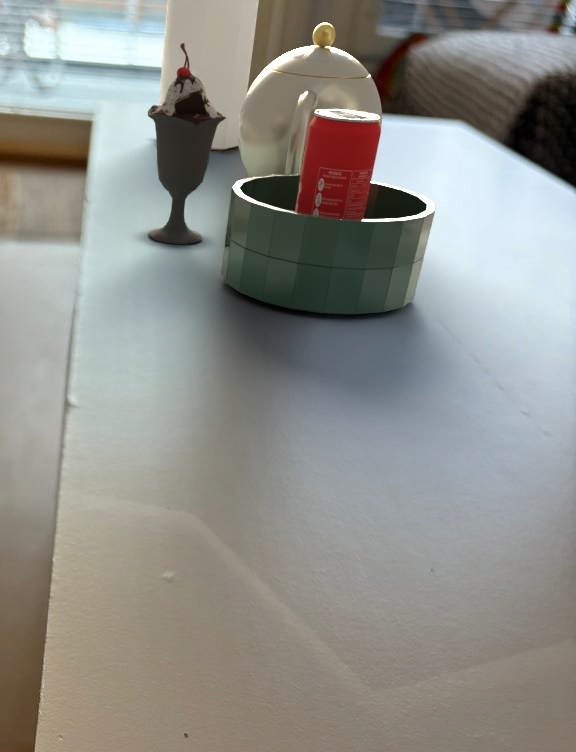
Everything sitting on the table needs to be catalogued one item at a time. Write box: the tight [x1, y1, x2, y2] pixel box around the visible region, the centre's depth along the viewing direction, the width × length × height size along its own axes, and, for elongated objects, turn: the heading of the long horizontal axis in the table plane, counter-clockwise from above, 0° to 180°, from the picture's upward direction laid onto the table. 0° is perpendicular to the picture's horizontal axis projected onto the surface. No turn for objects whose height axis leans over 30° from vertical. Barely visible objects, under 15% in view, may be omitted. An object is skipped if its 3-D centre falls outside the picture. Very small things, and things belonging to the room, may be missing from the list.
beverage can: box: [295, 109, 382, 219], centre depth 74 cm, size 5×5×12 cm
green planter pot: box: [220, 174, 436, 315], centre depth 76 cm, size 15×15×7 cm
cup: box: [158, 0, 260, 151], centre depth 122 cm, size 11×11×18 cm
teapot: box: [238, 22, 383, 177], centre depth 93 cm, size 18×14×16 cm
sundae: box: [147, 43, 226, 245], centre depth 84 cm, size 7×7×15 cm
